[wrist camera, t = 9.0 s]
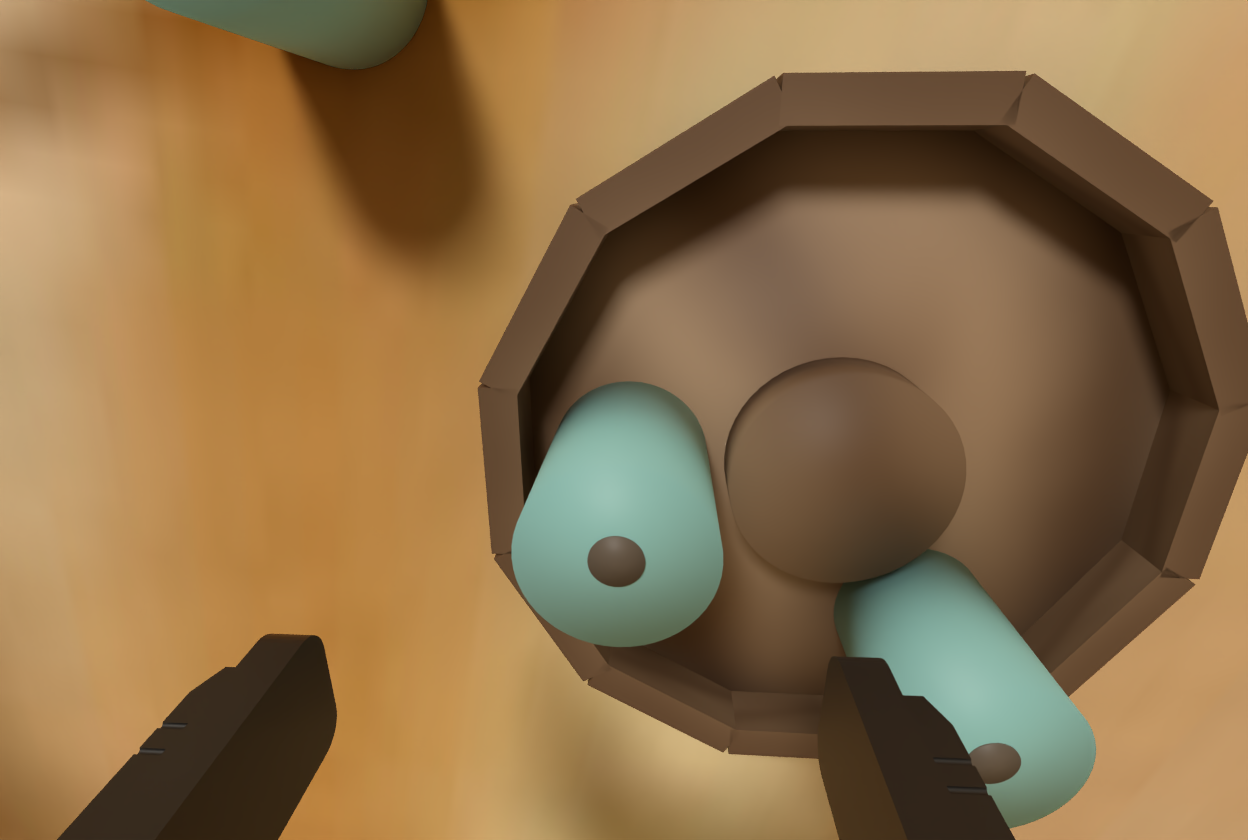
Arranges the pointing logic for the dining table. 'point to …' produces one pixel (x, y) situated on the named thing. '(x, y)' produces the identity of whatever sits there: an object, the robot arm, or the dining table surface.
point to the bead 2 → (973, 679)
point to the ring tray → (900, 303)
